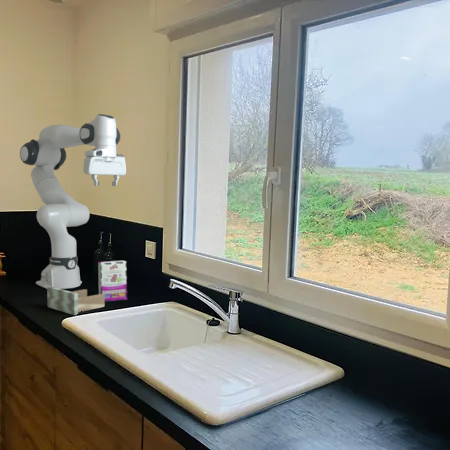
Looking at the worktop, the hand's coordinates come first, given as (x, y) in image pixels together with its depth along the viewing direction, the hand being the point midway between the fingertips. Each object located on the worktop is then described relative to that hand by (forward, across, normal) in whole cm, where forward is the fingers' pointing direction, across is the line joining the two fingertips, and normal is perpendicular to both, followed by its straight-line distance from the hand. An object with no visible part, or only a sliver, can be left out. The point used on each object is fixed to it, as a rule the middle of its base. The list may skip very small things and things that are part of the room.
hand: (105, 185), depth 217 cm
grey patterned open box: (+48, +19, +7) cm, 52 cm away
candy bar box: (+48, +2, +7) cm, 49 cm away
